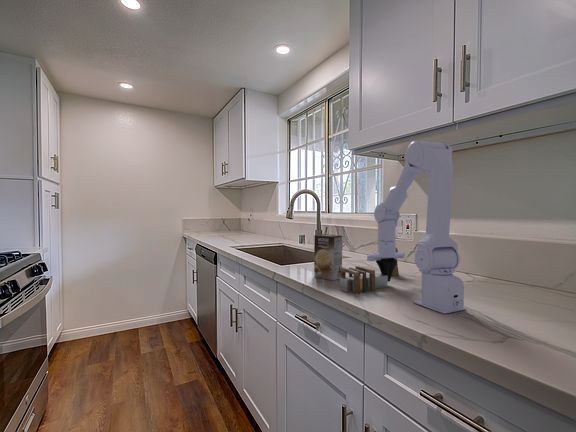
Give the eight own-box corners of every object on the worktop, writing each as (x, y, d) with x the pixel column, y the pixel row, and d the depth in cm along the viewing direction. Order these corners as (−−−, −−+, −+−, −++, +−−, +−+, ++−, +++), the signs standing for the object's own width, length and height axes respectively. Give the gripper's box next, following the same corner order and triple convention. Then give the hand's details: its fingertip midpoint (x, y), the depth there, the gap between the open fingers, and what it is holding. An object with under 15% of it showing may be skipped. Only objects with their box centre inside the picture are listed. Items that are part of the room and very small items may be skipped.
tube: (379, 284, 99) (379, 272, 99) (387, 286, 96) (387, 275, 96) (340, 289, 93) (339, 277, 93) (347, 292, 89) (347, 280, 89)
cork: (396, 276, 110) (396, 248, 110) (380, 274, 114) (380, 246, 114) (400, 274, 115) (400, 246, 115) (385, 272, 119) (385, 245, 118)
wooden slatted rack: (375, 291, 91) (375, 270, 91) (356, 293, 88) (356, 272, 88) (358, 284, 99) (358, 265, 99) (340, 287, 96) (340, 267, 96)
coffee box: (313, 277, 111) (313, 235, 110) (322, 274, 115) (322, 233, 115) (333, 280, 105) (333, 236, 104) (343, 277, 109) (342, 235, 109)
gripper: (394, 238, 104) (394, 276, 105) (361, 240, 99) (361, 280, 99) (409, 240, 98) (409, 280, 98) (375, 242, 92) (375, 285, 93)
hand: (386, 280), depth 98 cm, fingers closed
